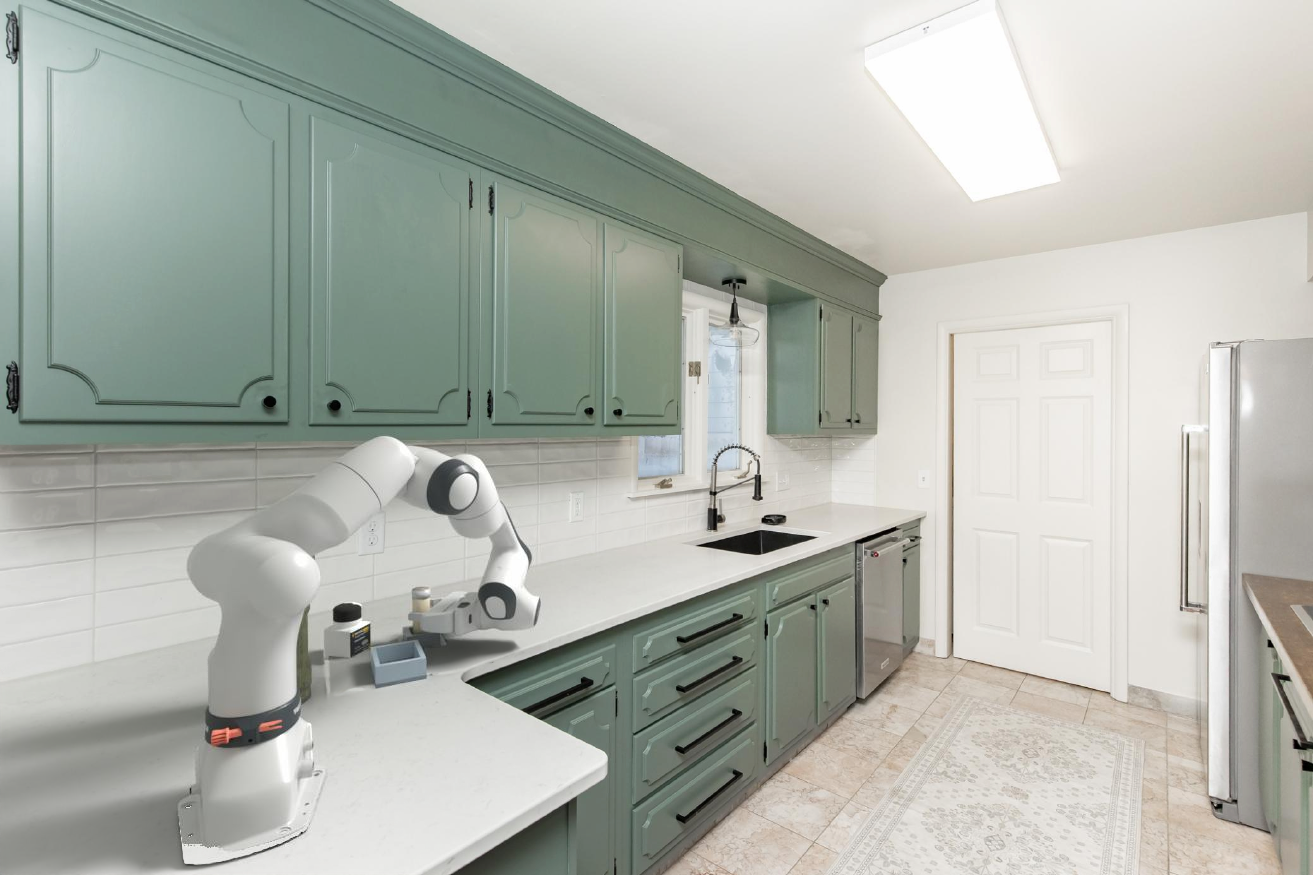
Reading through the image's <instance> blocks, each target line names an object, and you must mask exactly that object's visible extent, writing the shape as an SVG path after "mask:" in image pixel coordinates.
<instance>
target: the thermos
mask: <svg viewBox="0 0 1313 875" xmlns="http://www.w3.org/2000/svg"><path fill="white" fill-rule="evenodd" d="M315 557H316V555H314V556H312V558H313V559H314V560H315V561H316V559H315ZM310 610H311V603H310V604H309V605H308V606H307V607H306V608H305V610H304V613H303V617H302V621H301V624H300V628H299V633H298V638H297V647H296V680H297V688H298V689H299V691H300V697H301V705H302V704H303V703H305V702H308V701H309V699H310V698H311V697H312V691H311V689H312V688H311V686H312V683H313V682H312V680H313V679H312V678H313V677H312V676H313V673H312V672H313V671H312V670H313V669H312V668H313V666H312V660H311V659H310V656H309V621H308V620H309V618H308V615H309V613H310Z"/></svg>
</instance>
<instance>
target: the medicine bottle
mask: <svg viewBox="0 0 1313 875" xmlns="http://www.w3.org/2000/svg"><path fill="white" fill-rule="evenodd" d="M362 608H363V605H362V604H361V603H360V602H359V603H358V602H355V601H351V602H350V601H348V602H343V603H339V604H337V605H335V606H334V607H333V609H332V625H330V626H328V627H326V628H324V629H323V631H324V632H323V637H324V638H323V640H324V641H323V645H324V646H323V647H324V650H323V651H324V653H323V654H324V655H323V656H324V657H323V658H324V660H330V657H338V658H346V659H352V658H355V657H356V656H357V655H359V654H361V653H363V652H364V651H366V650H368V649H370V647H372V645H371V644H372V642H371V640H372V639H371V621H365V620H363V616H362V615H363V611H362V610H363V609H362Z"/></svg>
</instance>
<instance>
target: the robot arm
mask: <svg viewBox="0 0 1313 875" xmlns="http://www.w3.org/2000/svg"><path fill="white" fill-rule="evenodd" d="M394 498H396V499H398V500H401V501H403V502H405V503H407V504H408V505H410V506H411V507H416V508H419V509H421V510H425V511H428V512H429V511H430V512H434V513H435V514H437V515H442V516H447V518H448V520H449V523H450V525H451V527H452V528H453V530H454V531H455V532H456V533H457V535H459V536H461V537H464V538H466V539H467V538H468V539H471V540H473V539H474V540H475V539H483V538H487V537H489V539H490V542H491V544H492V546H491V551H490V554H489V560H488V562H487V565H486V567H485V569H484V573H483V575H482V578H481V580H480V583H479V586H478V591H461V590H458V591H457V590H456V591H450V593H449V594H447V595H446V596H445V597H443V596H442V597H437V598H430V609H429V610H428V611H427V612H423V613H418V611H411V612H409V613H408V614H407V618H408V619H407V620H408V621H410V622H411V621H417V622H419V623H421V630H423V631H425V632H431V633H440V634H453V633H454V636H457V637H459V636H461V637H462V636H465V635H467V634H469V633H472V632H476V631H487V630H491V629H493V630H494V629H495V630H499V631H503V632H504V631H508V632H510V631H512V632H513V631H516V632H517V631H526V630H531V629H533V628H534V627H535V626H536V625H537V623H538V619H539V615H540V610H541V598H540V596H537V595H533V594H531V593H530V592H529V591H528V590H527V588H525V585H524V583H525V581H526V577H527V573H528V570H529V568H530V566H531V564H532V561H533V556H532V552H531V550H530V549H529V547H528V546H527V545H526V543H525V542H524V541H523V540H522V539H521V538H520V536H519V535H518V531H517V530H516V527H515V525H514V522H513V521H512V519H511V516H510V514H509V512H508V509H507V508H506V506H505V504H504V503H503V502H502V500H501V499H500V496H499V494H498V490H497V488H496V485H495V482H494V480H493V478H492V477H491V474H490V472H489V469H487V467H486V465H485V464H484V461H482V460H481V459H480V458H479V457H478V456H475V455H474V454H469V453H459V454H456V455H454V456H452V457H451V456H449V455H446V454H444V453H442V452H439V451H438V450H435V449H431V448H428V447H424V446H423V447H422V446H416V445H414V444H412V443H406V442H405V443H404V442H402V441H400V440H399V439H397V438H395V437H393V436H388V435H379V436H377V437H374V438H372V439H370V440H367V441H366V442H364V443H362V444H360V445H358V446H356V447H354V448H353V449H351V450H349V451H347V452H346V453H345V454H343V455H342V456H340V457H339V458H337V459H336V460H334V462H332V463H331V464H330V465H328V466H326V467H325V468H324V469H322V470H321V471H320V472H319V473H317V474H316V475H314V476H313V477H312V478H310V479H309V480H308V481H306V482H305V483H304V484H303V485H301V486H300V487H298V488H297V489H295V491H293V492H291V493H290V494H288V495H286V496H285V497H283V498H281V499H280V500H278V501H275V502H274V503H272V504H270V505H268V506H266V507H264V508H262V509H260V510H259V511H257V512H255V513H253V514H251V515H249V516H248V517H246V518H244V519H242V520H240V521H239V522H237V523H236V524H234V525H232V526H230V527H228V528H226V529H224V530H223V529H222V530H221V531H218V532H216V533H215V532H214V533H212V534H210V535H208V536H206V537H204V538H203V539H201V540H200V541H199V542H198V543H196V544H195V545H194V547H192V550H190V553H189V554H188V558H187V561H186V572H187V577H188V579H189V580H190V581H191V584H192V585H193V586H194V588H195V589H196V590H197V591H198V592H199V593H200V594H201V595H202V596H203V597H205V598H206V599H209V600H211V601H213V602H216V603H218V604H219V608H220V612H221V621H220V626H219V630H218V633H217V638H216V639H217V640H216V643H215V645H214V647H213V648H212V649H211V650H210V651H209V653H208V657H207V689H208V691H207V694H208V696H207V697H208V705H207V707H206V709H205V715H204V721H203V728H204V739H203V740H202V741H201V742H200V743H199V744H198V745H197V746H195V748H194V764H195V766H194V769H195V774H194V775H195V783H194V784H191V785H190V787H189V795H188V796H186V797H184V798H183V799H181V800H180V801H179V802H177V808H178V815H179V822H180V830H181V837H182V843H183V844H188V846H189V844H202V845H200V846H205V847H207V848H209V847H210V848H211V847H214V846H215V847H218V846H219V847H218V848H220V849H221V848H223V849H222V850H224V851H227V852H228V851H230V852H231V851H232V852H233V851H234V852H235V851H239V850H244V849H246V848H250V847H254V846H259V845H261V844H265V843H269V842H272V841H275V840H278V839H281V838H285V837H286V836H289V835H291V834H293V833H295V832H297V831H299V830H300V829H303V828H304V827H305V826H307V824H308V823H309V820H310V818H311V815H312V812H313V810H314V807H315V804H316V801H317V798H318V796H319V793H320V790H321V788H322V789H323V787H322V785H323V786H324V784H323V782H324V783H325V781H324V779H325V780H326V778H325V776H326V777H327V775H328V769H327V766H325V765H323V764H316V763H315V760H314V758H313V757H314V756H313V749H314V740H313V738H312V737H313V736H312V723H310V722H308V721H306V720H305V719H303V718H302V716H301V713H302V712H301V706H302V704H301V697H300V691H299V689H298V688H297V680H296V647H297V638H298V633H299V628H300V624H301V621H302V617H303V613H304V610H305V608H306V607H307V606H308V605H309V604H310V605H311V603H312V601H313V600H315V597H316V596H317V594H318V591H319V589H320V585H321V579H322V578H321V571H320V570H321V569H320V568H319V565H318V563H317V562H316V559H315V560H314V559H313V558H312V556H314V555H315V556H316V555H318V554H320V553H322V552H325V551H327V550H328V549H332V548H335V547H337V546H340V545H342V544H344V543H345V542H347V540H348V539H349V538H350V537H352V536H353V535H354V534H355V533H356V532H358V531H359V530H360V529H361V528H362V527H363V526H364V525H365V524H367V523H368V522H369V521H371V519H372V518H374V517H375V516H376V515H377V514H379V512H380V511H382V510H383V508H385V507H386V506H387V505H388V504H389V503H390V502H391V501H392V500H393V499H394ZM326 774H327V775H326ZM321 791H322V790H321ZM320 794H321V793H320ZM319 797H320V796H319ZM190 806H191V807H190ZM186 807H190V808H186ZM178 815H177V816H178ZM283 831H287V833H285V834H280V833H281V832H283ZM191 835H192V836H191ZM189 836H190V837H189ZM184 846H185V845H184ZM190 846H192V845H190ZM194 846H195V845H194ZM220 849H219V850H220ZM230 852H229V853H230Z"/></svg>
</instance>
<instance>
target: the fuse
mask: <svg viewBox="0 0 1313 875" xmlns="http://www.w3.org/2000/svg"><path fill="white" fill-rule="evenodd" d="M430 599H431V587H430V586H416V587H414V588H412V589H411V602H412V604H411V606H412V607H411V609H412V611H418V613H423V612H427V611H428V610H429V609H430ZM412 611H411V612H412ZM411 625H412V626H413V634H418V633H425V631H423V630H421V623H419V622H417V621H412V624H411Z"/></svg>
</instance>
